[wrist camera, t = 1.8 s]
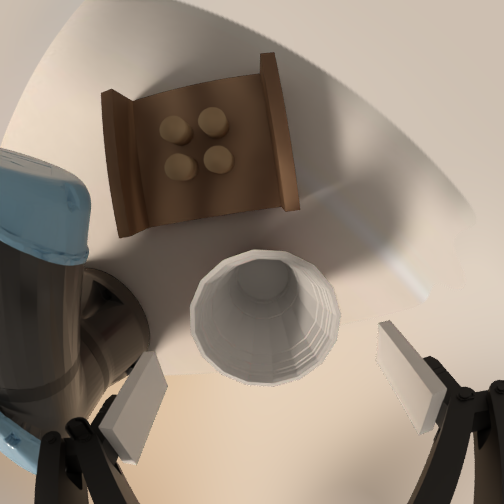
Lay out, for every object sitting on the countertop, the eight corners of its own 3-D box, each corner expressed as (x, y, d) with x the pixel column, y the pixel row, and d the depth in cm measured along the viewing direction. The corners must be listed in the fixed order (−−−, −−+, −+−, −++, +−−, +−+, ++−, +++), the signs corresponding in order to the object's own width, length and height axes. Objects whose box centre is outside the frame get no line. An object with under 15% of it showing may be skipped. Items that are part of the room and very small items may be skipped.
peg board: (143, 227, 30) (119, 238, 24) (127, 106, 27) (101, 93, 21) (291, 204, 29) (300, 209, 23) (270, 76, 26) (274, 52, 20)
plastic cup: (280, 204, 29) (296, 219, 17) (328, 289, 31) (363, 345, 19) (192, 257, 30) (156, 301, 19) (245, 334, 33) (240, 404, 21)
